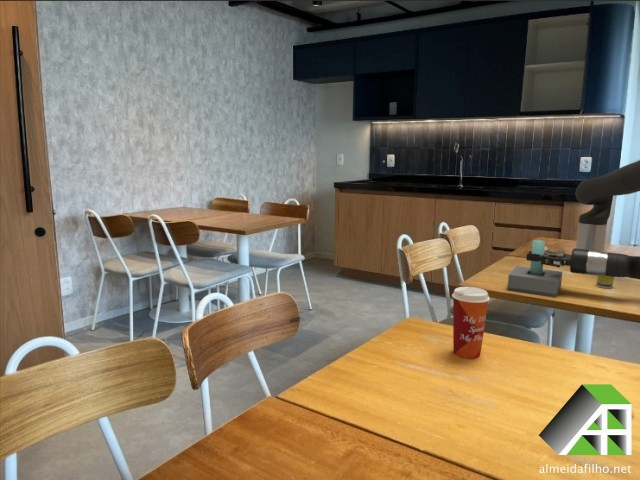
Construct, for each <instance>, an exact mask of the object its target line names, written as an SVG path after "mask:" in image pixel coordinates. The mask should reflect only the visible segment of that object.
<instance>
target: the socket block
mask: <svg viewBox="0 0 640 480" xmlns="http://www.w3.org/2000/svg"><path fill="white" fill-rule="evenodd" d="M562 278H563V271H561V270H551V269H545V268H544V269H543V271H542V276H539V275H532V274H530V267H527V266H518V265H516V266H515V267H514V268H513V269H512V271H511V272H510V273H509V274H508V278H507V279H508V280H507V291H509V292H517V293H524V294H530V295H537V296H544V297H549V298H550V297H551V298H557V296H558V294H559V292H560V290H561V288H562V281H563V279H562Z"/></svg>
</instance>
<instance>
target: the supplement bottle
mask: <svg viewBox="0 0 640 480" xmlns="http://www.w3.org/2000/svg"><path fill="white" fill-rule="evenodd" d="M614 278H615V277H611V276H596V281H595V285H596V287H597V288H601V289H602V288H603V289H612V288H613V286H614Z"/></svg>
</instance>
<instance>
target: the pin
mask: <svg viewBox="0 0 640 480" xmlns="http://www.w3.org/2000/svg"><path fill="white" fill-rule="evenodd" d="M545 247H546V241H545V240H543V239H542V240H541V239H539V240H538V239H533V240H532V244H531V251H532V254H540V255H541V254H543V255H544V252H545V249H546V248H545ZM529 268H530V274H532V275H539V276H542V271H543V268H544V264H541V263H540V262H537V261H530V267H529Z"/></svg>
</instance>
